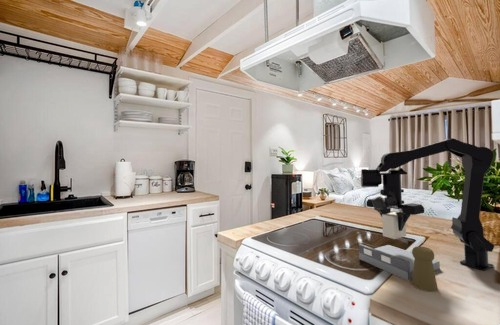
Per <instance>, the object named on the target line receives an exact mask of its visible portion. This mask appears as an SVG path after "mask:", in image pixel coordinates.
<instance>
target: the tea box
mask: <svg viewBox="0 0 500 325" xmlns="http://www.w3.org/2000/svg"><path fill="white" fill-rule="evenodd" d="M396 213H397V211H396V212H395V211H393V212H392V211H391V212H390V213H387V214H382V217H381V219H382V220H381V222H382V224H381V225H382V237H384V238H385V237H386V238H390V239H391V240H396V239H400V238H403V237H404V238H405V237H407V228H406V227H407V225H406V224H407V222H406V223H405V225H404V227H403V229H402V231H399V227H398V216H397V214H396Z"/></svg>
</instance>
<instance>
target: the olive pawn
mask: <svg viewBox="0 0 500 325" xmlns="http://www.w3.org/2000/svg"><path fill="white" fill-rule="evenodd" d="M411 250H412V251H411V252H412V254H413V257H414V258H415V260H414V269H413V278H412V279H411V285H412V286H413V287H414V288H416V289H418V290H421V291H424V292H437V291H438V283H437V278H436V274H435V271H434V268H433V263H432V261H433V259H434V260H435V253H434V251H433V249H431V248H429V247H426V246H420V245H419V246H415V247H412V249H411Z"/></svg>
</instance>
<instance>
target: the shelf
mask: <svg viewBox="0 0 500 325" xmlns="http://www.w3.org/2000/svg"><path fill="white" fill-rule="evenodd" d="M358 259H359V260H361V261H362V262H365V263H367V264H370V265H372V266H373V267H376V268H379V269H381V270H383V271H385V270H386V271H385V272H387V271H388V272H387V273H389V274H390V273H391V274H392V275H395V276H397V277H399V278H402V279H404V280H405V281H412V278H413V269H414V260H415V258H414V257H413V254H412V251H408V250H406V249H402V248H399V247H396V246H394V245H390V244H386V245H382V246H378V247H375V248H373V247H371V246H368V245H365V244H363V243H360V244H358ZM432 263H433V268H434V272H435V271H438V270H440V268H441V267H440V264H441V262H440V261H439V260H437V259H435V258H434V259H433V261H432Z"/></svg>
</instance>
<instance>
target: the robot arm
mask: <svg viewBox="0 0 500 325" xmlns="http://www.w3.org/2000/svg"><path fill="white" fill-rule="evenodd" d="M445 152H448V153H451V155H454V156H455V157H458V158H460V159H461V166H462V168H463V171H464V173H465V174H464V181H463V182H464V183H463V191H462V200H461V206H460V208H461V209H460V214H459V215H458V216H457V217H454V216H453V217H452V219H451V222H452V224H451V226H450V229H451V230H452V233H453V234H454V236H456V238H458V239H459V242H460V243H463V244H464V245H463V248H464V259H463V260H460V261H459V264H461V265H465V266H469V267H471V268H474V269H478V270H480V271H486V270H489V269H491V268H494V266H495V264H493V263H489V252H490V253H492V252H493V251H494V248H495V245H494V244H493V243H492V242H490V241H489V240H488V239H487V238H485V234H484V233H485V232H484V227H483V223H482V222H481V219H480V216H481V207H482V206H481V205H482V199H483V189H484V182H485V181H484V180H485V175H486V173H487V172H488V171H489V169H490V168H491V166H492V164H493V160H494V159H495V152H494V151H493V150H491V149H490V148H489V147H485V146H477V145H475V144H471V143H468V142H464V141H461V140H458V139H456V138H452V137H451V138H446V139H443V140H441V141H438V142H434V143H431V144H427V145H426V144H425V145H423V146H420V147H416V148H412V149H409V150H404V151H396V152H387V153H384V154H383V155H382V157H381V158H380V163H379V164H378V165H377V167H376V168H375V169H366V168H364V169H361V171H360V186H361V187H362V188H379V186H380V185H382V189H380V192H379V194H378V195H376V196H375V197H373V198H369V199H367V200H366V202H365V203H366V207H367V208H368V207H369V208H373V209H374V211H376V212H377V213H379V216H380V217H381V218H382V214H387V213H391V212H392V211H391V209H396V210H399V211H396V214H397V216H398V227H399V231H402V229H403V227H404V225H405V223H406V224H407V222H408V219H409V218H410V216H411V215H412V216H415V215H420V214H424V213H425V207H424V206H423V204H421V203H419V204H418V203H414V202H413V203H412V202H411V203H405V200H404V199H403V200H402V197H403V196H402V193H404V189H402V177H401V175H407V174H408V171H406V170H404V169H403V168H402V166H404V165H406V164H408V163H410V162H412V161H415V160H418V159H423V158H426V157H430V156H433V155H437V154H440V153H441V154H442V153H445ZM387 171H388V172H387Z"/></svg>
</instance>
